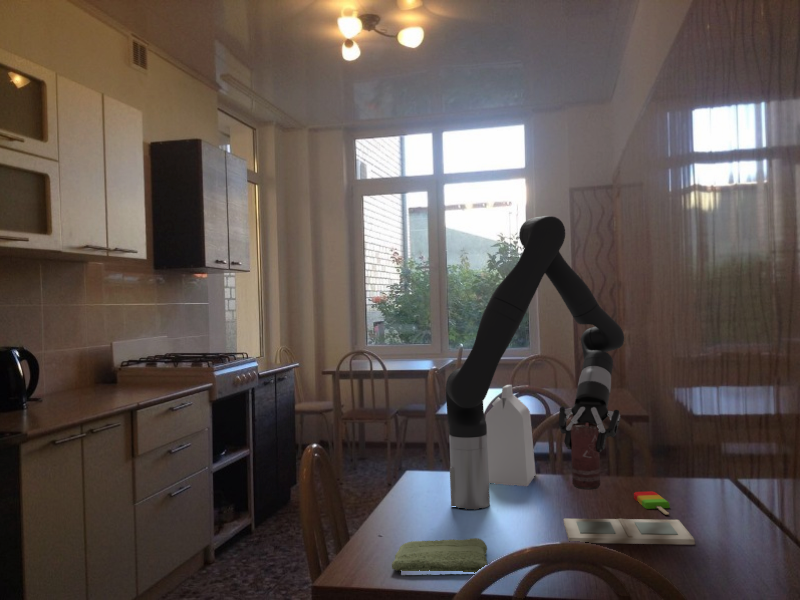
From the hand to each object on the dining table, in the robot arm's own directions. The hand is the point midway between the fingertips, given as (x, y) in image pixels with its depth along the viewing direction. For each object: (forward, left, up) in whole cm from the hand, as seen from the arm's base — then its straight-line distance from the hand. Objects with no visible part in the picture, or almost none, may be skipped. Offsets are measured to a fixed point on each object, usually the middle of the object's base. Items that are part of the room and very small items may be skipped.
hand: (583, 448), depth 146 cm
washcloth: (-30, -27, -16) cm, 44 cm away
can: (0, +2, -9) cm, 9 cm away
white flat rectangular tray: (+7, -10, -16) cm, 19 cm away
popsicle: (+17, +10, -16) cm, 25 cm away
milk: (-16, +33, -16) cm, 40 cm away
